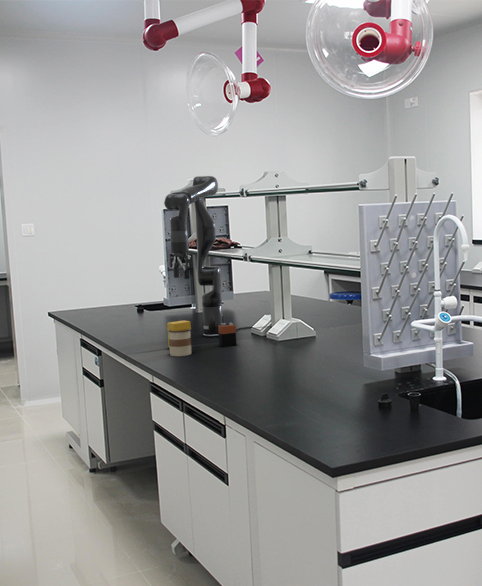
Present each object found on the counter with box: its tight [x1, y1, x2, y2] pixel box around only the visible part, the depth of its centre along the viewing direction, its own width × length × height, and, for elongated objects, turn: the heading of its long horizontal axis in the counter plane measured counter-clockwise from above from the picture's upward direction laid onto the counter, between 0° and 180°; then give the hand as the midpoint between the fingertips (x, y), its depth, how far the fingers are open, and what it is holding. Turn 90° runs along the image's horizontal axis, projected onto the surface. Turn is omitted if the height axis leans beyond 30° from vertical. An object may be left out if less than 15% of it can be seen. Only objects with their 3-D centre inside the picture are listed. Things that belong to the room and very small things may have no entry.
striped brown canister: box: [168, 328, 193, 357], centre depth 294 cm, size 10×10×11 cm
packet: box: [167, 320, 192, 331], centre depth 293 cm, size 8×5×3 cm, turn 132°
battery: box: [218, 322, 237, 348], centre depth 310 cm, size 4×7×10 cm, turn 116°
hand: (181, 278), depth 304 cm, fingers open, 8 cm apart
